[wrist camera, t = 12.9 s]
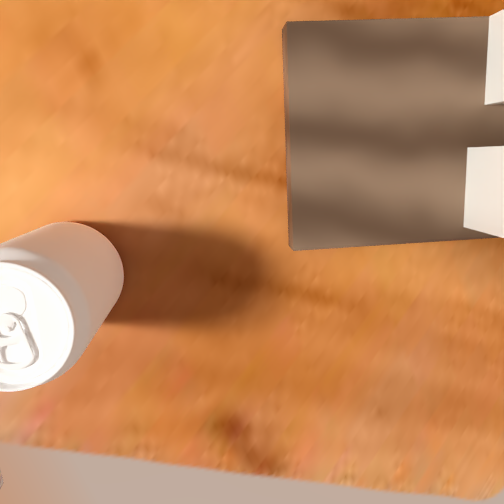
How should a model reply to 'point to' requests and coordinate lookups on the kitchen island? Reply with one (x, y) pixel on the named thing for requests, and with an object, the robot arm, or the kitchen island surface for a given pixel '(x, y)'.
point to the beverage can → (53, 300)
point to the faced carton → (495, 60)
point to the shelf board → (383, 128)
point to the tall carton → (485, 190)
